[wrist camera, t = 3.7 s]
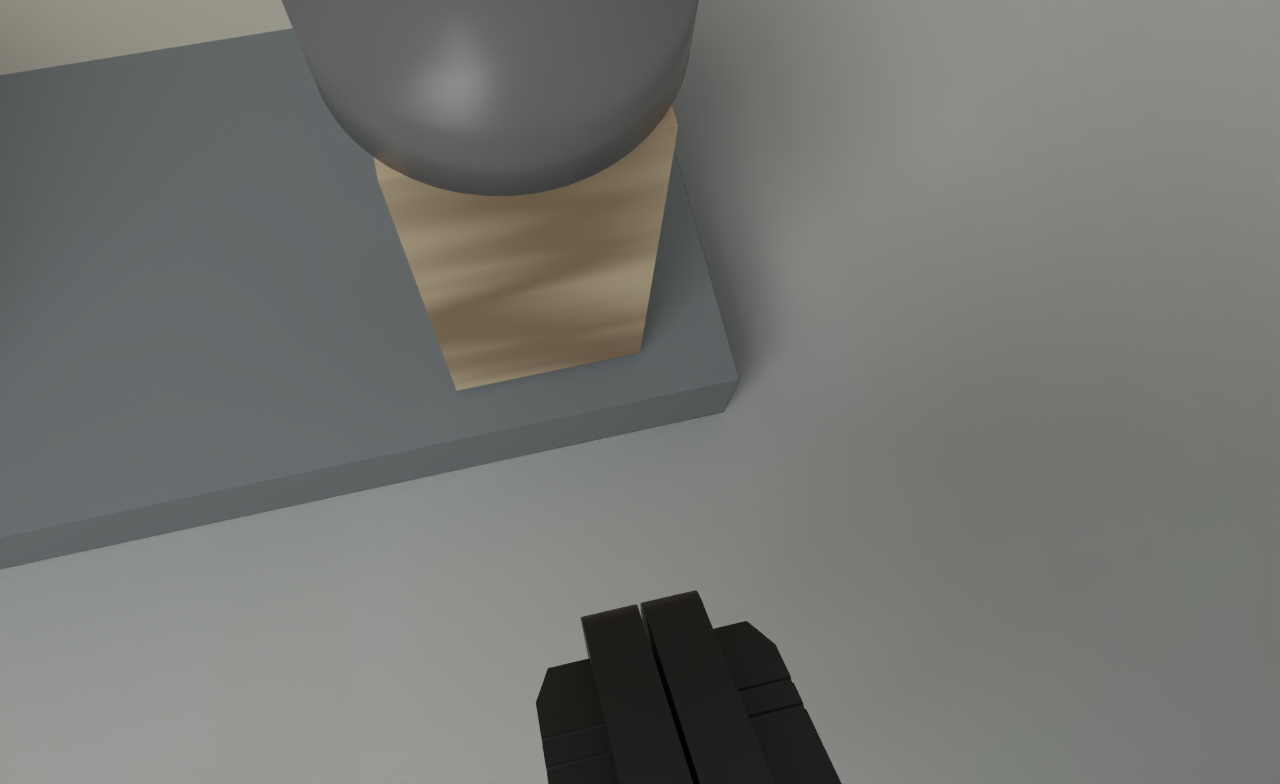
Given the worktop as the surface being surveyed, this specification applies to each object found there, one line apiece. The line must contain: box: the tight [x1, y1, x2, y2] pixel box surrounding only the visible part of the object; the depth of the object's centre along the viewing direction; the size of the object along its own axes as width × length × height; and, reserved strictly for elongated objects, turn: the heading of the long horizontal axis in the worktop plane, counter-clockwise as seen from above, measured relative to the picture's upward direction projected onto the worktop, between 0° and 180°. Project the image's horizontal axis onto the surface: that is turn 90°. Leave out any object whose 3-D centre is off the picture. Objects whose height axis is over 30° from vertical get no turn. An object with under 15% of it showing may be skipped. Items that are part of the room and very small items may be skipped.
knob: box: [281, 0, 698, 391], centre depth 18 cm, size 5×5×11 cm
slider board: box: [0, 0, 739, 569], centre depth 21 cm, size 24×13×10 cm, turn 103°
